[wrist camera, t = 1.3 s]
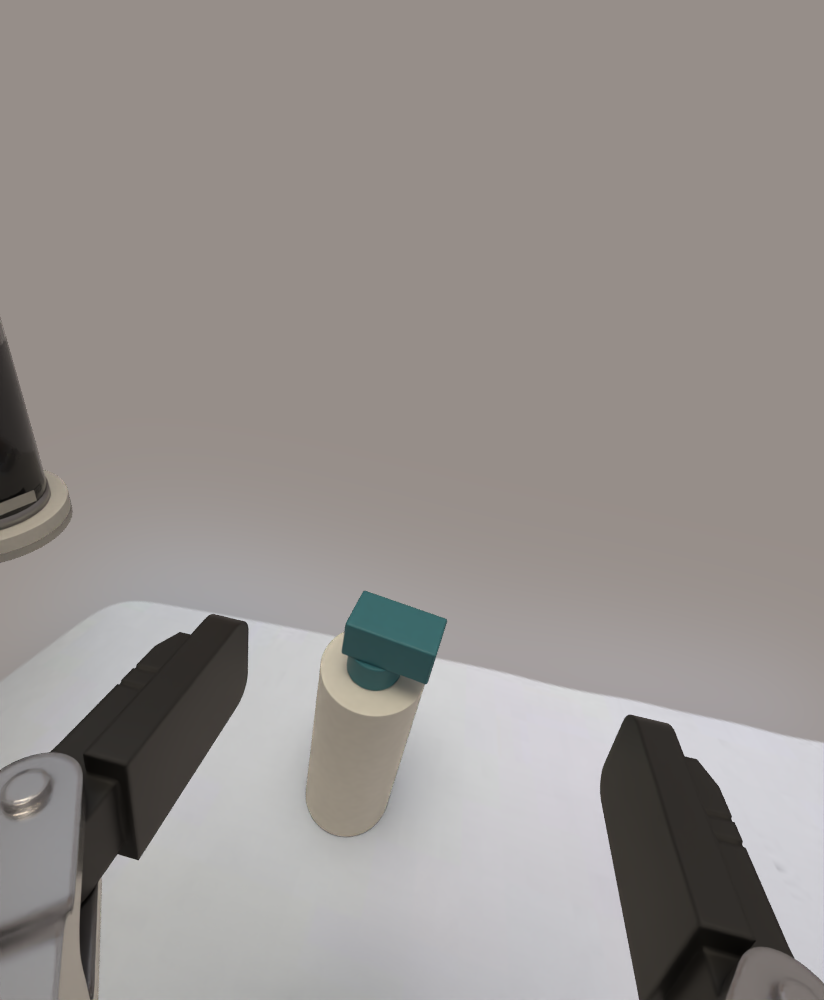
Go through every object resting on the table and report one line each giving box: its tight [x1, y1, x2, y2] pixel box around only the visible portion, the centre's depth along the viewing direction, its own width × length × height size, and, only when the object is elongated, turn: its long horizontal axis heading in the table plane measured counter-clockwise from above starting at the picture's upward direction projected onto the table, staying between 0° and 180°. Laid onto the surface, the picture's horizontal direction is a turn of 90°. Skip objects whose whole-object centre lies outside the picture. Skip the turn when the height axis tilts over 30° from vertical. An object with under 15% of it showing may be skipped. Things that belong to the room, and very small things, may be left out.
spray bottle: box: [306, 591, 447, 837], centre depth 26 cm, size 5×5×16 cm
